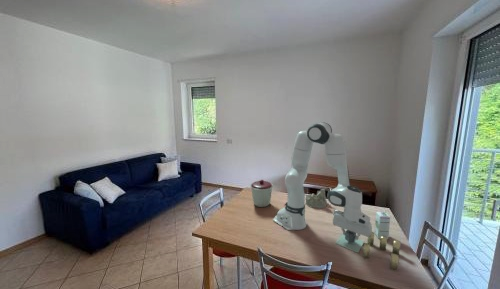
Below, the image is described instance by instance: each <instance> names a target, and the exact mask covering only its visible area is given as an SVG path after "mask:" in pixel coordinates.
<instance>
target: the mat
mask: <svg viewBox="0 0 500 289" xmlns="http://www.w3.org/2000/svg"><path fill="white" fill-rule="evenodd" d="M364 243H365V241H364V240H361V239H359V238H358V240H356V241H355V242H354V243H353V242H348V241H347V240H346V239H345V235H343V233H342V234H341V236H339V238H338V239H337V241H335V245H338V246H341V247H343V248H345V249H348V250H350V251H352V252H355V253H357V254H358V253H359V252H360V250H361V249H362V247H363V246H364Z"/></svg>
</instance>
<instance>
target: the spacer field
mask: <svg viewBox="0 0 500 289" xmlns="http://www.w3.org/2000/svg"><path fill="white" fill-rule="evenodd" d="M379 239H380V240H379V246H378V247H379V249H380V250H381V251H386V249H387V242H388V239H387V237H386V236H380V238H379ZM374 240H375V231H372V234H371V236H370V237H367V241H366V242H364V244H363V252H362V258H364V259H365V260H369V259H370V257H371V256H370V255H371V247H373V246H374V242H375V241H374ZM392 242H393V243H392V251H391V252H392V253H391V254H390V255H391V256H390V262H389V263H390V264H389V268H390V270H392V271H394V272H396V271H398V267H399V258H400V249H401V241H399V240H398V239H393V241H392Z"/></svg>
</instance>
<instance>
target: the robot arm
mask: <svg viewBox="0 0 500 289" xmlns="http://www.w3.org/2000/svg"><path fill="white" fill-rule="evenodd" d="M345 142H346V141H345V138H344V136H343V135H342V134H339V133H333V129H332V126H331V125H330V123H328V122H315V123H313V124H312V125H310V126H309V127H308V129H307V130H301V131H299V132H298V133H297V135H296V137H295V139H294V142H293V144H294V145H293V148H292V153H291V168H290V169H289V171H288V172H287V173H286V175H285V178H284V185H285V187H286V191H287V202H285V203H284V204H283V208H280V209H279V210H278V211H277V213H276V215H275V216H274V217H273V222H274V223H276V224H277V223H278V225H279V226H281V227H282V226H283V227H282V228H284V229H285V230H287V231H295V230H296V231H300V230H303V229H305V228H306V227H307V221H306V216H305V213H306V205H305V203H306V200H305V199H306V195H305V190H304V182H305V181H306V179H307V176H308V172H309V163H310V158H311V154H312V149H313V145H314V143H317V144H320V145H323V146H324V148H325V149H324V152H325V161H326V164H327V165H328V166H329V167H330V168H332V169H334V170H336V172H337V181H338V183H337V186H336V187H335V188H332V189H331V190H330V191H328V192H327V197H326V198H327V200H328V202H329V203H330V204H331V205H332V206H334V207H340V208H343V211H341V210H338V209H336V210H333V213H332V214H333V217H332V224H333V226H337V227H338V228H340V229H341V232H342V234H343V235H345V232H346V231H347V230H350V231H353V232H355V233H356V236H355V239H356V240H358V239H359V237H361V235H362V236H364V237H367V238H368V237H370V236H371V234H372V232H373V228H372V227H373V226H372V222H371V217H370V216H369V215H368V214H366V213H363V212H362V205H363V192H362V190H361V189H360V188H359V187H358V186H355V185H351V180H350V174H349V166H348V160H347V148H346V143H345Z"/></svg>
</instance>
